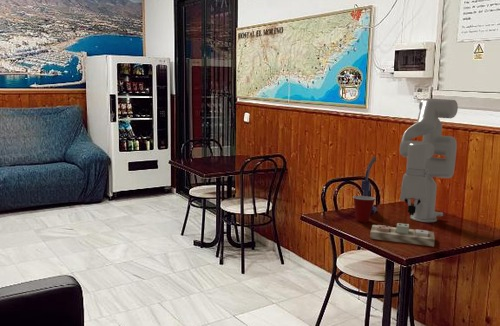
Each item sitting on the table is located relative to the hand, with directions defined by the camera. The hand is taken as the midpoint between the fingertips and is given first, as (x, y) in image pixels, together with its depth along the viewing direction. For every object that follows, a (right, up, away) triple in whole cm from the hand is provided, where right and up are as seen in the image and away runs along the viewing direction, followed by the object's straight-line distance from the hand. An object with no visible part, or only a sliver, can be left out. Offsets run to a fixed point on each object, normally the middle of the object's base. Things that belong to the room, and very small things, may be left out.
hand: (411, 214), depth 217 cm
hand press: (-7, -4, +49) cm, 50 cm away
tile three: (-11, -9, +5) cm, 15 cm away
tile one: (+4, -11, 0) cm, 12 cm away
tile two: (-3, -8, +2) cm, 9 cm away
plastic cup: (-14, -6, +30) cm, 34 cm away
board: (-3, -11, +3) cm, 12 cm away
